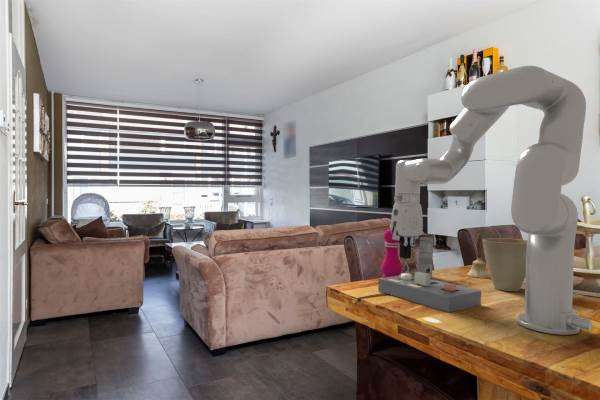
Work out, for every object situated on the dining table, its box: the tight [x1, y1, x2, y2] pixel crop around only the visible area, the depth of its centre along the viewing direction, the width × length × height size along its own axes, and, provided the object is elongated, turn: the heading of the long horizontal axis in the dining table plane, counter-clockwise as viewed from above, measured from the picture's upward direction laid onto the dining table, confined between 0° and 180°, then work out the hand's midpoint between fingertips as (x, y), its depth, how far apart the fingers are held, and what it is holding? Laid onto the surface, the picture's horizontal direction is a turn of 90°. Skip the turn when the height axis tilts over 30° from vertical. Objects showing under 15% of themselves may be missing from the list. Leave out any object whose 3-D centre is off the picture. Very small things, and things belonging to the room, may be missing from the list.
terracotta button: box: [444, 282, 457, 292], centre depth 112 cm, size 3×3×2 cm
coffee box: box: [404, 232, 434, 279], centre depth 150 cm, size 9×6×16 cm
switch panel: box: [377, 274, 482, 313], centre depth 119 cm, size 26×14×4 cm, turn 33°
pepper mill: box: [380, 224, 403, 278], centre depth 142 cm, size 7×7×20 cm
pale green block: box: [415, 272, 430, 286], centre depth 118 cm, size 4×2×6 cm, turn 33°
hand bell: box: [466, 233, 491, 279], centre depth 152 cm, size 8×8×16 cm
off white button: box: [400, 272, 412, 281], centre depth 126 cm, size 3×3×2 cm
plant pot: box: [482, 237, 528, 292], centre depth 131 cm, size 15×15×16 cm
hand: (405, 257), depth 126 cm, fingers closed
